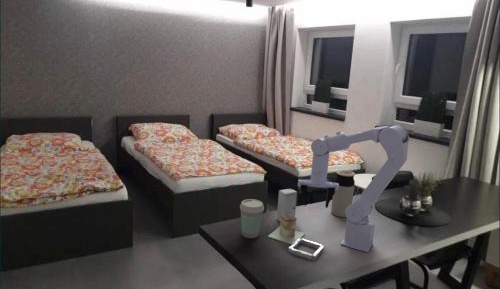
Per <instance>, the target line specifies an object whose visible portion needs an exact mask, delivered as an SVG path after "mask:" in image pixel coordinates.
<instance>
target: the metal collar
mask: <svg viewBox="0 0 500 289" xmlns="http://www.w3.org/2000/svg"><path fill="white" fill-rule="evenodd" d="M300 245H304V246H306V247H310V248H313V249H317V250H315V252H314V253H313V254H312V253H309V252H306V251H303V250H300V249H297V248H298V247H299V246H300ZM324 250H325V246H324V245H323V244H322V243H320V242H319V243H318V242H315V241H311V240H308V239H304V238H301V239H300V238H298V239H297V240H296V241H295V242H294V243H293V244H292V245H291V244H290V246H289V247H288V253H290V254H291V255H295V256H297V257H301V258H303V259H307V260H309V261H312V260H313V261H316V260H317V259H318V257H319V256H320V255H321V254H322V253H323V252H324Z"/></svg>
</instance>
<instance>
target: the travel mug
mask: <svg viewBox="0 0 500 289" xmlns="http://www.w3.org/2000/svg"><path fill="white" fill-rule="evenodd" d="M355 176H356V173H355V172H354V171H351V170H348V169H347V170H346V169H338V170H336V177H334V182H333V183H338V184H339V188H338V190H335V194H334V195H333V197H332V198H331V200H332V201H331V208H330V209H331V210H330V212H331V214H333V215H334V216H336V217H339V218H346V216H345V210H346V208H347V207H348V206H349V205H351V204H353V200H354V199H353V198H354V192H355V191H354V190H355V184H356V181H355Z"/></svg>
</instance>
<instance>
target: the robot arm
mask: <svg viewBox="0 0 500 289" xmlns="http://www.w3.org/2000/svg"><path fill="white" fill-rule="evenodd" d="M367 141H373V142H374V143H376V144H378V143H379V144H380V146H382V148H383V149H384V151H385V152H386V157H387V159H386V160H385V162H384V164H383V165H382V166H381V168H380V169H379V170H378V172H376V174H375V175H374V177H373V178H372V180H371V181H370V183H369V184H368V185H367V187H366V188H365V189H364V190H363V192H362V193H361V194H360V195H359V196H358V197H357V198H356V200H355V201H354V202H352V204H351V205H349V206H348V207H347V208H346V210H345V216H346V217H345V218H346V221H345V222H346V223H345V229H344V230H345V231H344V238H343V239H342V240H341V242H340V245H341V246H344V247H348V248H352V249H355V250H358V251H362V252H365V253H368V252H369V251H370V249H371V248H372V246H373V244H374V235H375V228H376V227H375V226H376V224H375V223H372V222H370V220H369V215H370V214H371V213H372V212H373V206H374V204H375V203H376V201H377V199H378V198H379V197H380V195H382V193H383V191H384V190H385V189H386V188H387V186H389V184H390V183H391V181H392V180H393V179H394V178H395V176H396V175H397V174H398V173H399V171H400V170H401V169H402V167H403V166H404V165H405V164H406V162H407V161H408V150H409V142H410V136H409V133H408V131H407V128H405V127H404V126H403V125H401V124H393V125H392V126H390V125H385V126H384V125H383V126H377V127H373V128H370V129H366V130H362V131H359V132H355V133H351V134H348V133H347V132H342V131H337V132H336V133H335V134H331V135H327V134H326V135H324V137H320V138H316V139H314V140H313V141H312V142H311V144H310V149H311V152H312V160H311V161H312V162H311V171H310V173H311V174H310V179H298V180H297V181H298V182H297V187H300V190H301V194H302V197H303V201H304V204H303V205H304V207H306V206H307V203H308V202H307V201H308V200H307V199H308V198H307V197H308V187H310V188H322V189H326V191H327V192H326V199H325V209H328V207H329V204H330V203H331V200H332V199H333V195H334V194H335V190H338V188H339V184H338V183H334V182H332V181H328V171H329V170H328V169H329V161H330V153H335V152H339V151H343V150H347V149H349V148H350V146H351V144H356V143H358V144H359V143H361V142H362V143H363V142H367Z"/></svg>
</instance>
